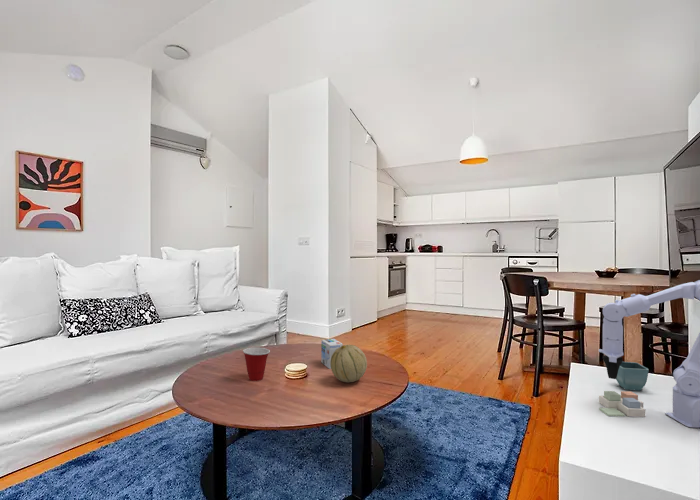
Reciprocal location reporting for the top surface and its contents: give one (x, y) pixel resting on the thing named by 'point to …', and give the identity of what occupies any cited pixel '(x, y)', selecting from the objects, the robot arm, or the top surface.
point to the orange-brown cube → (628, 395)
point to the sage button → (612, 396)
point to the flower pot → (632, 376)
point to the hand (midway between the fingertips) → (612, 378)
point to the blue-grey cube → (631, 403)
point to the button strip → (612, 402)
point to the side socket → (631, 411)
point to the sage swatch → (611, 412)
